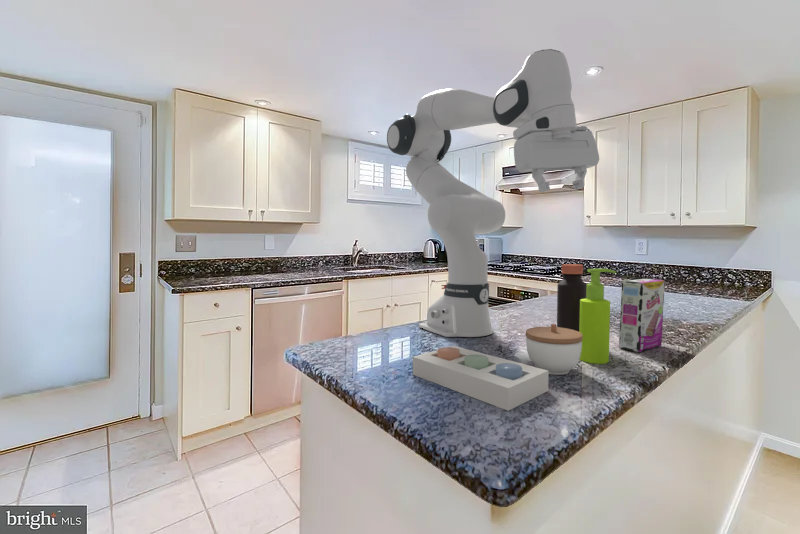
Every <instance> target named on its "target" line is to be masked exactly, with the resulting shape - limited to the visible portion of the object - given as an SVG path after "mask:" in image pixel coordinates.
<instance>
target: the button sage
mask: <svg viewBox="0 0 800 534" xmlns="http://www.w3.org/2000/svg"><path fill="white" fill-rule="evenodd" d="M464 366H468V367H471V368H474V369H478V370H480V369H483V368H486V367H488V366H489V358H488V357H486V356H483V355H467V356H465V357H464Z"/></svg>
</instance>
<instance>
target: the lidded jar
mask: <svg viewBox="0 0 800 534" xmlns="http://www.w3.org/2000/svg"><path fill="white" fill-rule="evenodd" d="M525 338H526V339H525V343H526V351H527V355H528V358H529V359H530V361H531V363H532V364H533V365H534V367H537V368H540V369H544V370H548V371H549V373H548V375H553V376H562V375H564V376H565V375H567V374H569V373H570V371H572V370H573V369H574V368H575V367H576V366H577V364H578V363H579V362H580V356H581V351H582V340H583V335H582V333H580V332H578V331H575V330H572V329H567V328H560V327H557V323H556V324H555V323H551V324H550V326H536V327H535V326H534V327H530V328H527V329H526V330H525Z"/></svg>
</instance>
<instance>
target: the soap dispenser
mask: <svg viewBox="0 0 800 534" xmlns="http://www.w3.org/2000/svg"><path fill="white" fill-rule="evenodd" d="M617 272H618V271H617V270H613V269H608V268H601V267H600V268H598V267H597V268H587V273H590V282H588V283H587V284H586V285H587V290H586V298H585V299H581V300H580V325H579V332H580V333H582V335H583V340H582V351H581V356H580V359H579V361H582V362H585V363H589V364H593V365H594V364H597V365H603V364H604V365H605V364H608V363H609V362H610V332H611V331H610V329H611V324H610V323H611V316H610V315H611V301H610V300H608V299H605V284H603V283H602V282H601V279H600V278H601V273H613V274H616V273H617Z"/></svg>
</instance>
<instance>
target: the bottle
mask: <svg viewBox="0 0 800 534" xmlns="http://www.w3.org/2000/svg"><path fill="white" fill-rule="evenodd" d="M583 274H584V264H577V263H576V264H575V263H573V264H572V263H568V264H567V263H566V264H561V276H562V279H561V280H560V281H559V282H557V286H556V287H557V288H556V289H557V290H556V291H557V294H556V295H557V297H556V303H557V305H556V308H557V309H556V327H560V328H567V329H572V330H575V331H578V332H579V325H580V300H581V299H585V298H586V290H587V284H586V282H584V280H583V279H582V276H583Z"/></svg>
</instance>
